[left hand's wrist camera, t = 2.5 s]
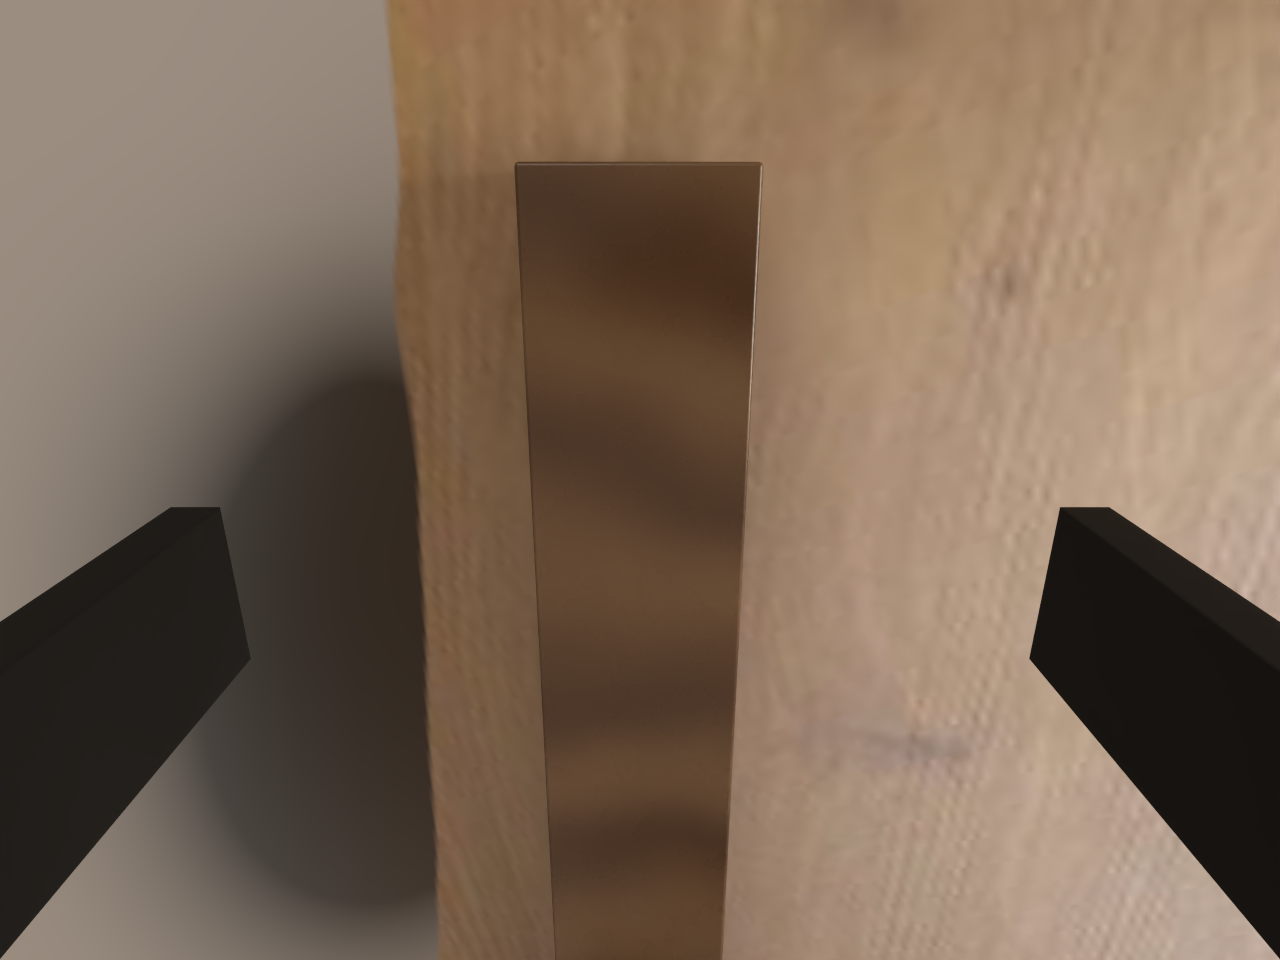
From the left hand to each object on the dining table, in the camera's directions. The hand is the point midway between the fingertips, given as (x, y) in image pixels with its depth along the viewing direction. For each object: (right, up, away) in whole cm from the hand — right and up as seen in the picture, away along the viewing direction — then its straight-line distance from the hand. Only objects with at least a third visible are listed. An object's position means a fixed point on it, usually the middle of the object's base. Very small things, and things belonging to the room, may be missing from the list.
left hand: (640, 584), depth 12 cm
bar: (0, -14, +22) cm, 26 cm away
